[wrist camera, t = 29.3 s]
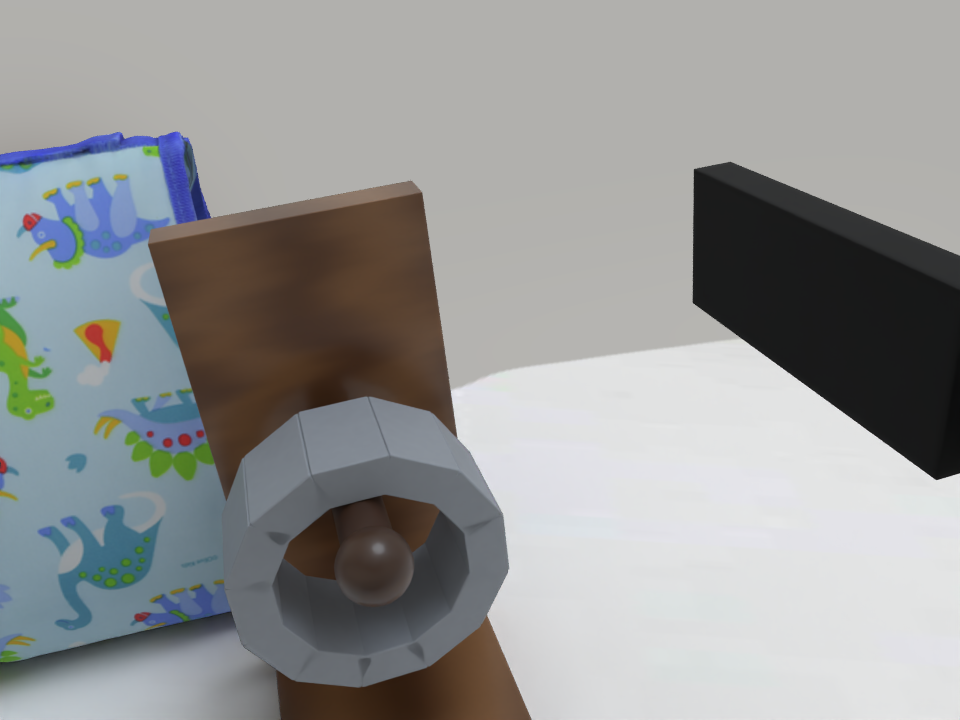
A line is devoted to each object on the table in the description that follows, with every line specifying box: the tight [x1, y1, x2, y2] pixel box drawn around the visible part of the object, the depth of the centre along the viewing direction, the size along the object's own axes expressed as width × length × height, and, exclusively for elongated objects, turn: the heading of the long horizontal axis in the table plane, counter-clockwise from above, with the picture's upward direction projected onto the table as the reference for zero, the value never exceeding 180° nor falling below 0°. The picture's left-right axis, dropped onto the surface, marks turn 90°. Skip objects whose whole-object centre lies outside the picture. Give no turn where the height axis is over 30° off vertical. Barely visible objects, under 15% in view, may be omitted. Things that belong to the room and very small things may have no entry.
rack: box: [148, 181, 531, 720], centre depth 36 cm, size 11×13×24 cm
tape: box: [222, 397, 509, 688], centre depth 36 cm, size 11×5×11 cm, turn 107°
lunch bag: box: [0, 132, 231, 662], centre depth 47 cm, size 22×17×26 cm
